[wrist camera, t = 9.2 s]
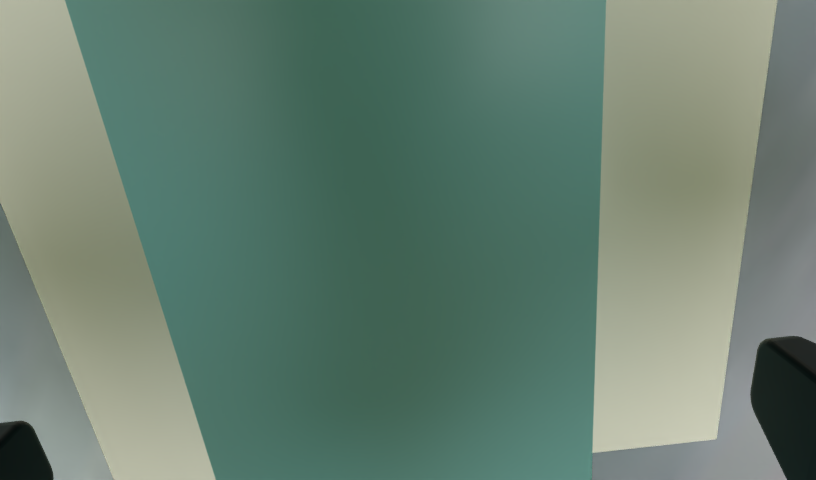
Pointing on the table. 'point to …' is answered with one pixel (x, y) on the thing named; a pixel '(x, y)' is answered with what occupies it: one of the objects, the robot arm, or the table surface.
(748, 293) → the table surface
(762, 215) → the table surface
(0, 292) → the table surface
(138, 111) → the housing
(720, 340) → the base plate
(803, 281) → the table surface
